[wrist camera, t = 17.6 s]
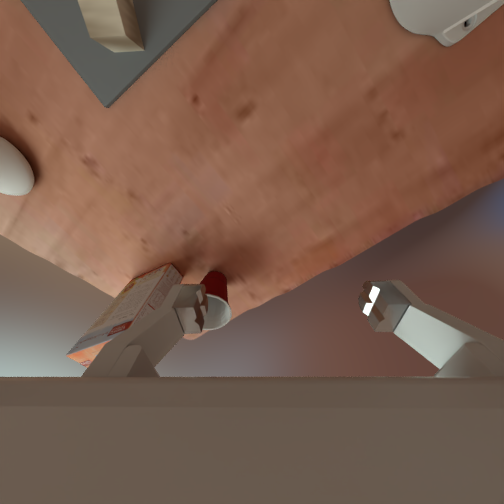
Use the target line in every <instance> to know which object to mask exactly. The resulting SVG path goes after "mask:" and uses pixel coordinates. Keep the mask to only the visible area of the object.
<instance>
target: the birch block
mask: <svg viewBox="0 0 504 504" xmlns="http://www.w3.org/2000/svg"><path fill="white" fill-rule="evenodd" d="M78 3H79V6H80V9H81V12H82V15H83V18H84V21H85V24H86V26H87V29H88V32H89V35H90V38H92V39H93V40H95V41H96V42H98V43H100V44H101V45H103V46H105V47H106V48H108V49H109V50H111V51H113V52H114V53H115V52H132V51H145V50H144V46H143V42H142V38H141V34H140V29H139V25H138V21H137V17H136V13H135V9H134V4H133V0H78Z"/></svg>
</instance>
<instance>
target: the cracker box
mask: <svg viewBox="0 0 504 504" xmlns="http://www.w3.org/2000/svg"><path fill="white" fill-rule="evenodd" d="M182 279H183V277H182V275H181V274H180V273H179V272H178V271H177V270H176V268H175V267H174V266H173V265H172V264H171V263H168V264H166V265H164V266H162V267H159V268H157V269H155V270H153V271H151V272H148V273H146V274H144V275H142V276H139V277H137V278H135V279H132V280H131V281H130V282H129V283H128V284H127V285H126V286H125V288H124V289H123V290H122V291H121V292H120V293H119V295H118V296H117V297H116V298H115V299H114V300H113V301H112V303H111V304H110V305H109V306H108V307H107V308H106V310H105V311H104V312H103V313H102V314H101V316H99V318H98V319H97V320H96V321H95V322H94V323H93V325H92V326H91V327H90V328H89V329H88V330H87V332H86V333H85V334H84V335H83V336H82V337H81V338H80V339H79V341H78V342H77V343H76V344H75V346H74V347H73V348H72V349H71V350H70V351H69V353H67V355H66V356H67V357H69V358H71V359H73V360H75V361H77V362H79V363H80V364H82V365H83V366H85V367H87V368H88V367H89V365H90V364H91V363H92V361H93V360H94V359H95V357H96V356H97V355H98V353H99V352H100V351H101V349H102V348H103V346H104V345H105V344H106V343H108V342H109V341H111V340H112V339H113V338H115V337H116V336H118V335H119V334H121V333H122V332H124V331H125V330H126V329H128V328H129V327H131V326H132V325H134V324H135V323H137V322H138V321H139V320H141V319H142V318H144V317H145V316H147V315H148V314H150V313H151V312H152V311H154V310H155V309H157V308H160V307H161V305H162V304H163V302H164V300H165V298H166V297H167V295H168V293H169V291H170V290H171V288H172V286H173V285H175V284H180V283H181V281H182Z"/></svg>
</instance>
